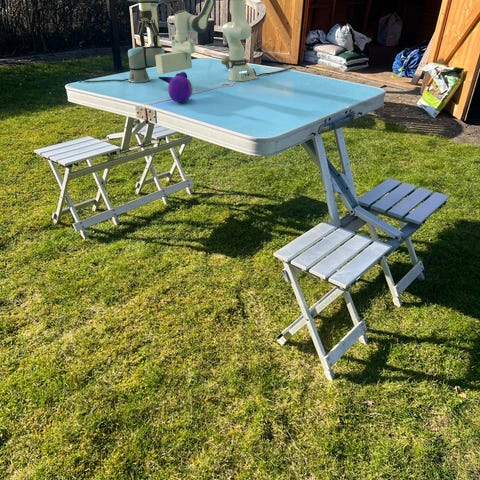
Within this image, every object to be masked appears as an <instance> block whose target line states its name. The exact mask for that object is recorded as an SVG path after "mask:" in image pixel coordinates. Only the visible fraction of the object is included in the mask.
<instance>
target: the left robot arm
mask: <svg viewBox="0 0 480 480" xmlns="http://www.w3.org/2000/svg"><path fill="white" fill-rule="evenodd" d="M127 1H129V2H133V3H137V4H138V11H139V17H140V18H138V20H137V21H138V24H137V31H136V34H137V35H138V36H139V40H140V46H138V47H132V48H130V49H128V50H127V56H128V64H129V65H128V66H129V76H128V78H124V79H99V80H86V79H80V80H79V81H78V83H81V82H84V83H101V82H125V81H128V82H129V83H133V84H141V83H148V82H150V76H149V74H148V71H147V67H156V58H155V55H159V54H165V52H166V51H165V50H166V49H165V48H163V45H162V44H161V41H160V31H159V19H158V10H157V9H158V6H159V2H161V0H127ZM145 30H146V37H147V44H146V40H145V35H144V33H145ZM144 47H146V48H144Z"/></svg>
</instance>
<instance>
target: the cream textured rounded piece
mask: <svg viewBox="0 0 480 480" xmlns="http://www.w3.org/2000/svg"><path fill="white" fill-rule="evenodd" d="M229 59H230V55H229V54H228V56H224V57H222V59H221V64H222V65H224V66H225V68H226V69H227V71H228V70H230V67H229ZM244 59H245V57H244Z"/></svg>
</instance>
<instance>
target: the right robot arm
mask: <svg viewBox="0 0 480 480" xmlns="http://www.w3.org/2000/svg"><path fill="white" fill-rule="evenodd" d="M246 3H247V0H229V13H230V15H231V17H232V21H228V22H225V23H224V24H223V26H222V34H223V36H224V37H225V39H226V41H227V45H228V53H229V54H228V56H229V55H230V59H229V67H230V70H228V69H227V71H228V77H227V80H228V81H232V82H247V81H253V80H258V77H260V76H261V77H262V76H264V75H272V74H273V75H274V74H277V73H282V72H285V71H290V70H292V69H294V70H297V68H296V67H295V66H293V67H292V66H291V67H289V68H285V69H282V70H277V71H269V72H262V73H259V74H257V73H256V70H255V68H252V67H251V66H249V64H248V63H250V60H249V59H244V58H245V46H244V45H243V44H242V41H241V40H243V41H244V40H247V39H248V38H250V37H251V35H252V28H251V26H250V25H249V23H248V20H247V15H246V8H247V7H246V5H247V4H246ZM215 4H216V0H204V3H203V6H202V8H201V11H200V12H199V14H198V15H194V14H191V13H189V12H188V11H186V10H185V9H182V10H181V9H180V10H177V11H176V12H174V16H173V19H174V28H175V31H174V32H175V34H174V35H171V36H170V40H171V50H172V52H177V51H181V52H185V53H187V57H186V60H189V57H190V53H191V55H192V54H195V52H196V47H195V42H194V40H193V39H192V38H191V37H190V35H189V34H190V33H189V31H191V32H195V33H198V34H202V33H204V32H205V31H206V30H207V29H208V23H209V19H210V16H211V14H212V12H213V9H214V7H215Z"/></svg>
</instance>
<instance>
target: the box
mask: <svg viewBox="0 0 480 480" xmlns="http://www.w3.org/2000/svg"><path fill="white" fill-rule="evenodd" d="M186 57H187V53H185V52H181V51H177V52H175V51H171V52H167V53H165V54H159V55H155V58H156V66H155V67H156V74H161V75H165V74H170V73H173V72H180V71H184V70H188V69H193V61H192V54H191V53H190V57H189V60H186Z"/></svg>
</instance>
